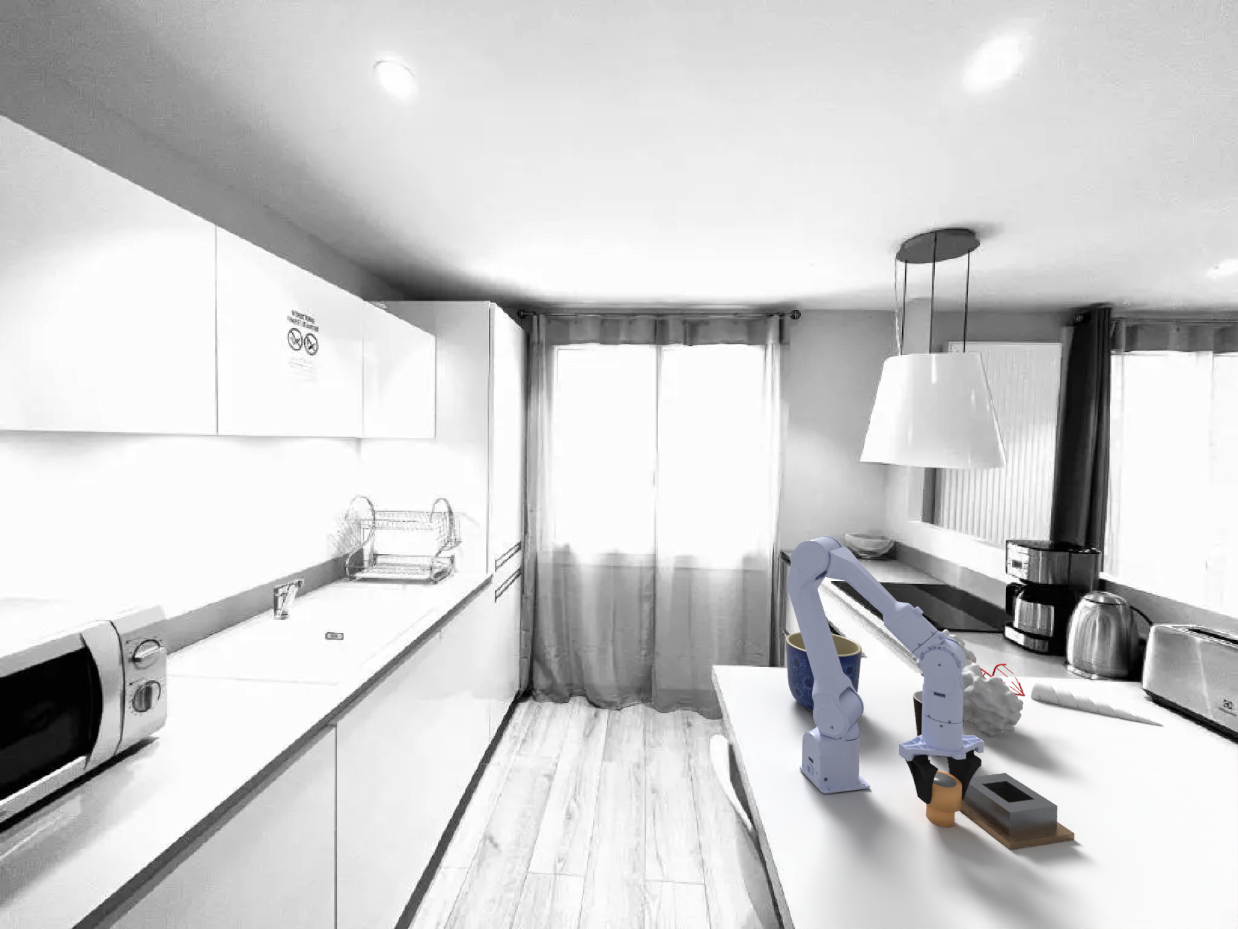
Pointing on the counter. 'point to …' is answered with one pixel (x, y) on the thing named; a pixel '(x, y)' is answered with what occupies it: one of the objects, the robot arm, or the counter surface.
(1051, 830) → the square frame on board
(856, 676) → the planter
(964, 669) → the protein dna model
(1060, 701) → the unicorn horn
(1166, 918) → the counter surface
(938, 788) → the cap
